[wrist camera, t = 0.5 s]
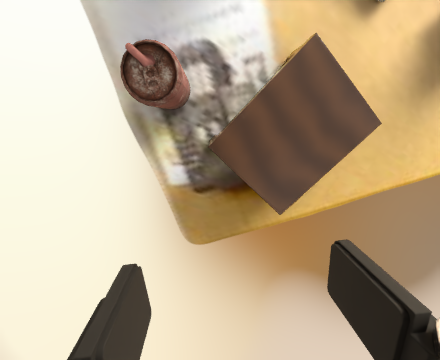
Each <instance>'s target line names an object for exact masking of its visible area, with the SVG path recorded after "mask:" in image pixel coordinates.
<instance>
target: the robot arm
mask: <svg viewBox="0 0 440 360" xmlns="http://www.w3.org/2000/svg"><path fill="white" fill-rule="evenodd" d="M327 287H328V292H329V295H330V296H331V298H332V299H333V300H334V302H335V303H336V305H337V306H338V308H339V309H340V310H341V312H342V314H343V315H344V316H345V318H346V319H347V321H348V322H349V324H350V325H351V326H352V328H353V329H354V331H355V332H356V334H357V335H358V337H359V338H360V339H361V341H362V342H363V344H364V345H365V347H366V348H367V350H368V351H369V352H370V354H371V355H372V357H373V358H374V360H440V318H438V319H436V318H435V317H434V316H433V315H431V313H432V312H431V311H430V310H429V309H428V308H427V307H426V306H424V305H423V304H422V303H421V302H420V301H419V300H418V299H416V298H415V297H414V296H413V295H412V294H410V293H409V292H408V291H407V290H406V289H405V288H404V287H403V286H401V285H400V284H399V283H398V282H397V281H396V280H394V279H393V278H392V277H391V276H390V275H389V274H387V273H386V272H385V271H384V270H383V269H382V268H381V267H380V266H378V265H377V264H376V263H375V262H374V261H373V260H371V259H370V258H369V257H368V256H367V255H366V254H364V253H363V252H362V251H361V250H360V249H359V248H358V247H356V246H355V245H354V244H353V243H352V242H351V241H349V240H339V241H335V243H334V244H332V246H331V254H330V265H329V276H328V286H327ZM150 319H151V307H150V302H149V298H148V294H147V290H146V285H145V281H144V277H143V273H142V269H141V267H140V266H139V267H138V266H137V264H129V265H123V266H122V268H121V270H120V271H119V273H118V275H117V277H116V279H115V280H114V282H113V284H112V286H111V288H110V290H109V292H108V293H107V295H106V297H105V298H103V299H102V300H101V301H100V302H99V304H98V306H97V307H96V309H95V311H94V313H93V315H92V316H91V318H90V320H89V322H88V324H87V325H86V327H85V329H84V331H83V332H82V334H81V336H80V338H79V340H78V341H77V343H76V345H75V347H74V348H73V350H72V352H71V354H70V356H69V357H68V359H67V360H140V356H141V353H142V349H143V345H144V341H145V337H146V334H147V330H148V326H149V322H150Z"/></svg>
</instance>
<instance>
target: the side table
mask: <svg viewBox="0 0 440 360" xmlns="http://www.w3.org/2000/svg"><path fill="white" fill-rule="evenodd" d="M287 60H288V61H287V62H286V63H285V64H284V66H283V67H282V68H281V69H280V70H279V71H278V72H277V73H276V74H275V75H274V76H273V77H272V78H271V79H270V80H269V81H268V83H267V84H266V85H265V86H264V87H263V88H262V89H261V90H260V91H259V92H258V93H257V94H256V95H255V96H254V97H253V98H252V100H251V101H250V102H249V103H248V104H247V105H246V106H245V107H244V108H243V109H242V110H241V111H240V112H239V113H238V114H237V115H236V116H235V118H234V119H233V120H232V121H231V122H230V123H229V124H228V125H227V126H226V127H225V128H224V129H223V130H222V131H221V132H220V133H219V135H218V136H217V135H215V136H214V137H213V138H212V139H211V140H210V141H209V142H210V144H209V145H208V147H209V148H210V149H211V150H212V151H213V152H214V153H215V154H216V155H217V156H218V157H219V158H220V159H221V160H222V161H223V162H224V163H226V164H227V165H228V166H229V167H230V168H231V169H232V170H233V171H234V172H235V173H236V174H237V175H238V176H239V177H240V178H241V179H242V180H244V181H245V182H246V183H247V184H248V185H249V186H250V187H251V188H252V189H253V190H254V191H255V192H256V193H257V194H258V195H259V196H260V197H261V198H263V199H264V200H265V201H266V202H267V203H268V204H269V205H270V206H271V207H272V208H273V209H274V210H275V211H276V212H277V213H278V214H279V215H281V214H282V213H283V212H284V211H285V210H286V209H288V208H289V207H290V206H291V205H292V204H293V203H294V202H295V201H296V200H298V199H299V198H300V197H301V196H302V195H303V194H304V193H305V192H306V191H308V190H309V189H310V188H311V187H312V186H313V185H314V184H315V183H316V182H317V181H319V180H320V179H321V178H322V177H323V176H324V175H325V174H326V173H327V172H329V171H330V170H331V169H332V168H333V167H334V166H335V165H336V164H337V163H338V162H340V161H341V160H342V159H343V158H344V157H345V156H346V155H347V154H348V153H350V152H351V151H352V150H353V149H354V148H355V147H356V146H357V145H358V144H360V143H361V142H362V141H363V140H364V139H365V138H366V137H367V136H368V135H369V134H371V133H372V132H373V131H374V130H375V129H376V128H377V127H378V126H379V125H381V124H382V123H381V122H380V120H379V119H378V117H377V116H376V115H375V113H374V112H373V111H372V109H371V108H370V106H369V105H368V104H367V102H366V101H365V99H364V98H363V97H362V95H361V94H360V92H359V91H358V90H357V88H356V87H355V86H354V84H353V83H352V81H351V80H350V79H349V77H348V76H347V74H346V73H345V72H344V70H343V69H342V68H341V66H340V65H339V63H338V62H337V61H336V59H335V58H334V56H333V55H332V54H331V52H330V51H329V50H328V48H327V47H326V45H325V44H324V43H323V41H322V40H321V38H320V37H319V36H318V34H317V33H315V34H314V35H313V36H311V37H310V38H309V39H308V40H307V41H306V42H305V43H304V44H303V45H302V46H300V47H299V48H298V49H296V50H295V51H293V53H292V54H291V55H290V56H289V57H288V58H287Z"/></svg>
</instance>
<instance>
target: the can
mask: <svg viewBox="0 0 440 360" xmlns="http://www.w3.org/2000/svg"><path fill="white" fill-rule="evenodd" d="M125 48H126V49H127V50H126V52H125V53H124V55H123V58H122V62H121V66H120V67H121V78H122V81H123V84H124V86H125V88H126V89H127V91H128V92H129V94H130V95H131V96H132V97H133V98H135V99H136V100H137V101H138V102H141V103H143V104H145V105H148V106H154V107H160V108H165V109H177V108H180V107H181V106H183V105H184V104H185V103H186V102H187V100H188V98H189V95H190V85H189V81H188V79H187V77H186V75H185V73H184V71H183V69H182V67H181V64H180V62H179V61H178V59H177V57H176V56H175V54H174V52H173V51H172V50H170V49H169V48H168V47H167V46H166V45H165V44H162V43H160V42H158V41H156V40H147V39H146V40H142V41H138V42H136V43H134V44H133V45H132V44H130V43H127V44H126V45H125Z"/></svg>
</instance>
